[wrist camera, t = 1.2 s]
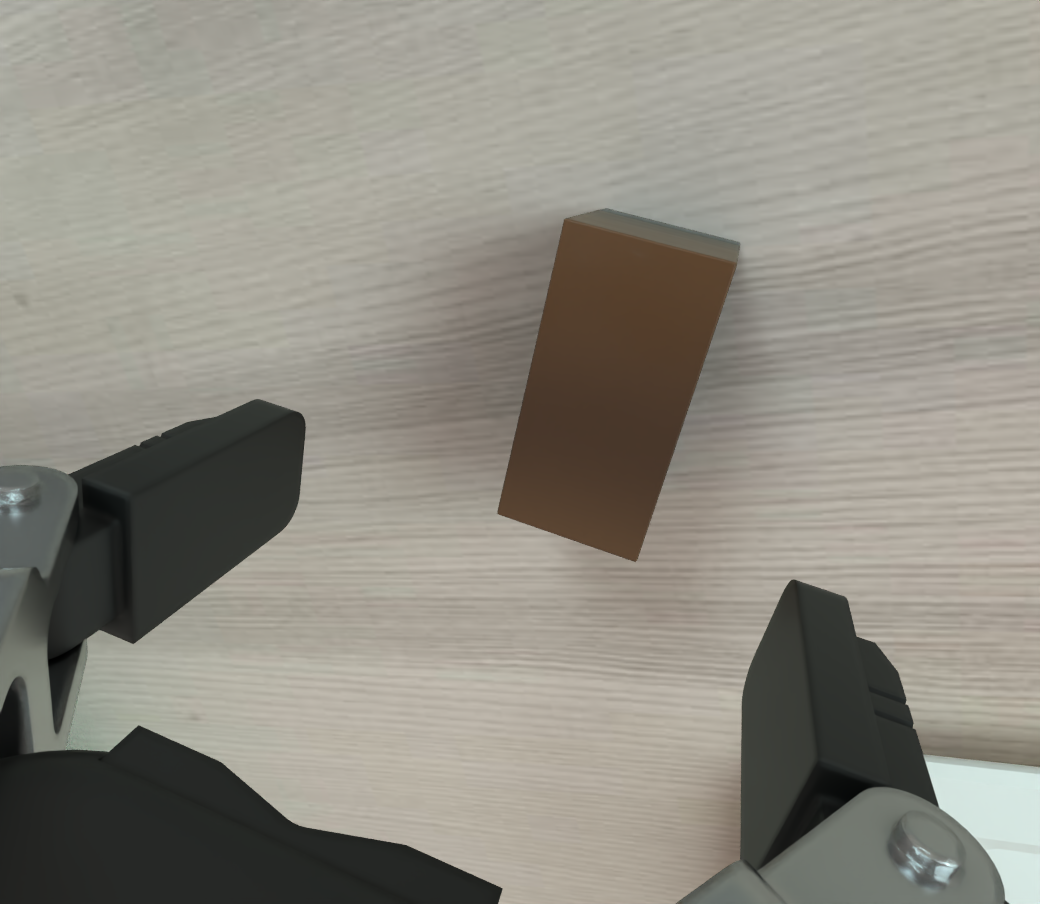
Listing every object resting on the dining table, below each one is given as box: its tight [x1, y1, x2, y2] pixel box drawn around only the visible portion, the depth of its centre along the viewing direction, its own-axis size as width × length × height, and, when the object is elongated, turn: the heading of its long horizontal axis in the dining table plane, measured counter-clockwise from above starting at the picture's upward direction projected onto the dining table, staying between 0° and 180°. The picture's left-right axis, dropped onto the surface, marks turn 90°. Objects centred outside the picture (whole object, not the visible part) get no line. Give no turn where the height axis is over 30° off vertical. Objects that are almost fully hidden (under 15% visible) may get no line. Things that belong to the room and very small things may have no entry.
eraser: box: [498, 209, 740, 562], centre depth 20 cm, size 8×4×5 cm, turn 167°
